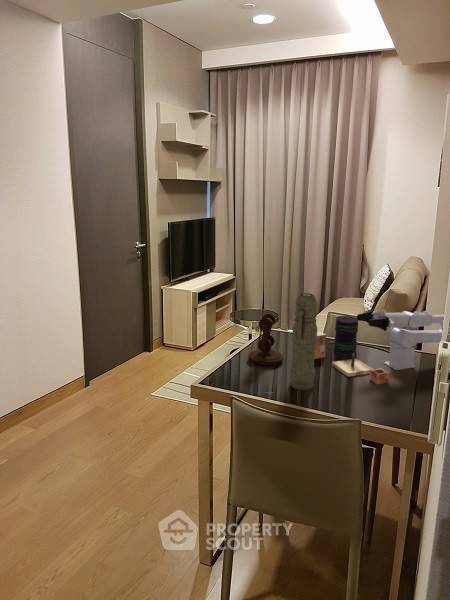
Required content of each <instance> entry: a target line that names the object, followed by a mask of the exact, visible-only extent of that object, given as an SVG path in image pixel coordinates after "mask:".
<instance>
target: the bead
mask: <svg viewBox="0 0 450 600" xmlns="http://www.w3.org/2000/svg"><path fill="white" fill-rule="evenodd" d="M368 377H369V378H368V380H369V381H371V382H373V383H374V384H375V385H382V384H388V383H389V378H390V372H389V371H387V370H385V369H383V368H382V367H380V368H379V367H377V368H373V369H371V370H370V374H369V376H368Z"/></svg>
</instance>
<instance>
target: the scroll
mask: <svg viewBox="0 0 450 600" xmlns="http://www.w3.org/2000/svg"><path fill="white" fill-rule="evenodd" d="M275 324H276V318H275V316H274V314H272V313H265V314H264V315H263V316H262V318H261V319H260V320H259V321H258V327H259V335H258V340H257V349H254V350H252V351H250V352H249V353H248V360H249V361H250V363H251V364H252V365H253V364H254V363H255V364H258V365H267V366H268V365H270V366H271V365H273V367H274V368H275V367H276V366H277V364H279V363H281V362H283V361H284V354H283V353H281V352H280V351H278V350H276V349H272V347H273V346H274V345H275V338H274V337H273V336H272V335H271V332H272V329H273V326H274V325H275Z"/></svg>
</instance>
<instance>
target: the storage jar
mask: <svg viewBox="0 0 450 600" xmlns="http://www.w3.org/2000/svg"><path fill="white" fill-rule="evenodd" d="M358 329H359V320H357V317H354V316H348V315H339V316H337V317H335V327H334V330H335V336H334V341H333V352H335V353H336V354H340V355H352V354H356V353H357V352H356V351H357V350H356V349H357V345H358V344H357V343H358V342H357V334H358V331H359V330H358Z"/></svg>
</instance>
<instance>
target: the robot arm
mask: <svg viewBox="0 0 450 600" xmlns="http://www.w3.org/2000/svg"><path fill="white" fill-rule="evenodd" d="M356 318H357V320H358V322H364V323H365V322H366V323H367V324H368V326H370V327H371V328H372V327H373V328H377V329H380V330H382V331H385V332H386V331H388V332H387V336H386V337H387V339H388V340H389V344H390V347H389V356H388V361H383V364H385V365H386V366H387V367H390V368H392V369H394V370H396V371H398V370H399V371H400V370H406V369H411V368H415V365H414V364H415V363H414V360H415V355H416V354H415V348H414V347H415V346H416V345H417V344H423V343H424V344H425V343H426V344H427V343H428V344H429V343H441V342H440V341H441V338H442V330H443V320H444V314H443V313H442V314H431V313H430V312H429V311H426V310H423V311H422V312H418V311H413V312H411V311H407V310H402V312H386V310H384V309H381V310H380V312H373V309H368V310H366V311H365V312H362V313H358V314H357V315H356ZM432 324H436V325H437V324H439V326H438V328H437V329H430V330H429V329H426V330H424V329H423V330H421V329H420V330H415V329H417V328H419V327H430V326H431V325H432ZM401 327H403V328H401ZM406 327H409V328H411V329H414V330H408V329H404V328H406ZM388 328H389V330H387V329H388Z"/></svg>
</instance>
